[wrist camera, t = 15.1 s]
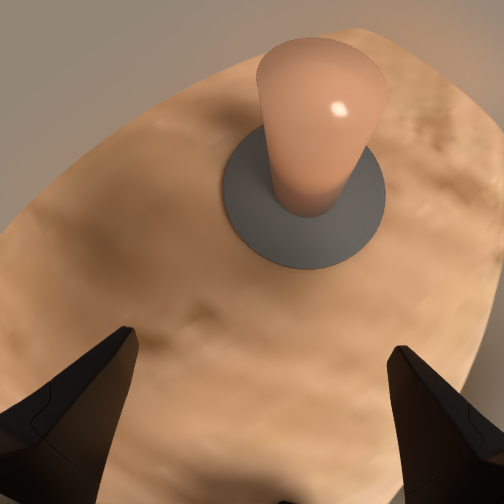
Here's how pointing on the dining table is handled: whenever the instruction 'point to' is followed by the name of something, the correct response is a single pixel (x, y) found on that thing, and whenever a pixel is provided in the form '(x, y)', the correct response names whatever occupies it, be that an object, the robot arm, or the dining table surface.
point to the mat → (293, 227)
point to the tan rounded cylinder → (317, 118)
